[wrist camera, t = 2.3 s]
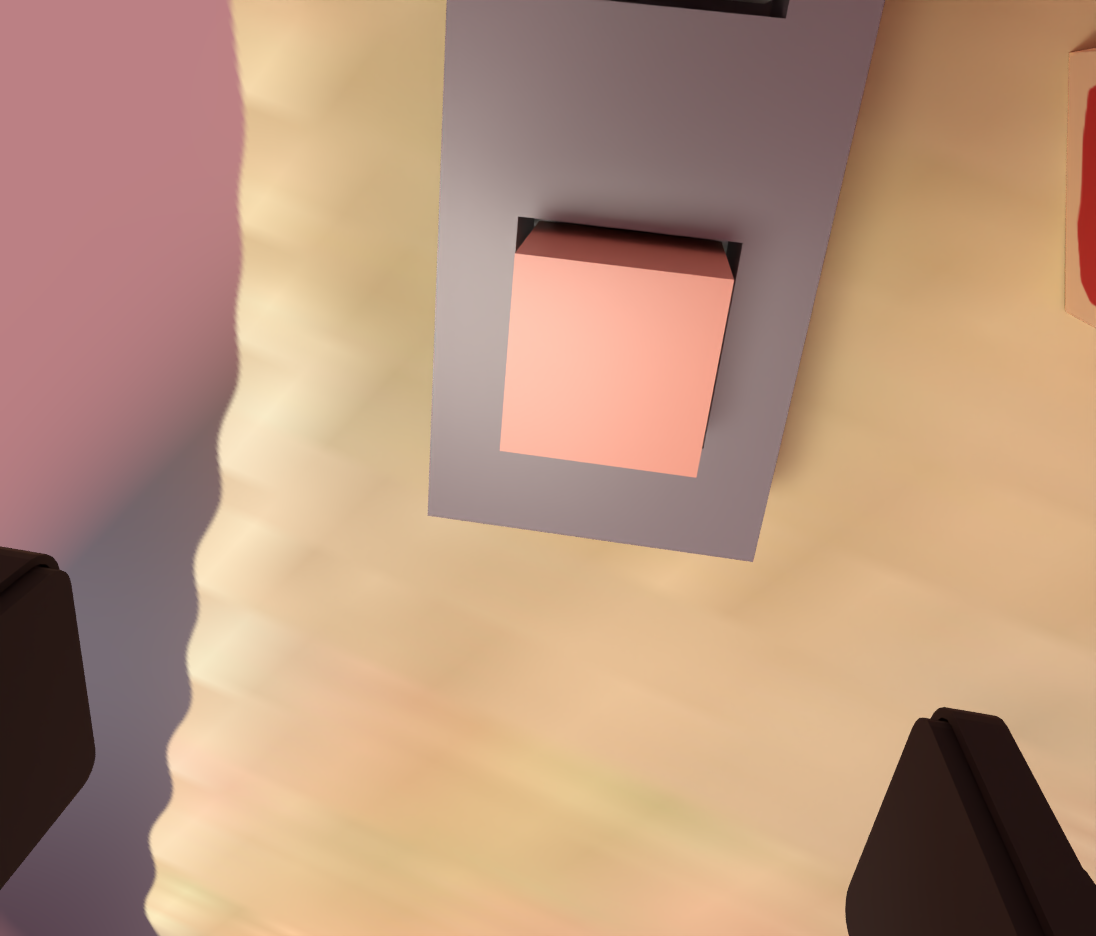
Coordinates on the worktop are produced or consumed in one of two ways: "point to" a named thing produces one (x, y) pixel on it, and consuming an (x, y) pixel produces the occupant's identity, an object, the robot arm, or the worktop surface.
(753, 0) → the ivory key
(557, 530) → the key block
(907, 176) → the worktop surface
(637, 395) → the terracotta key
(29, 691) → the robot arm
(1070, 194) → the milk carton
